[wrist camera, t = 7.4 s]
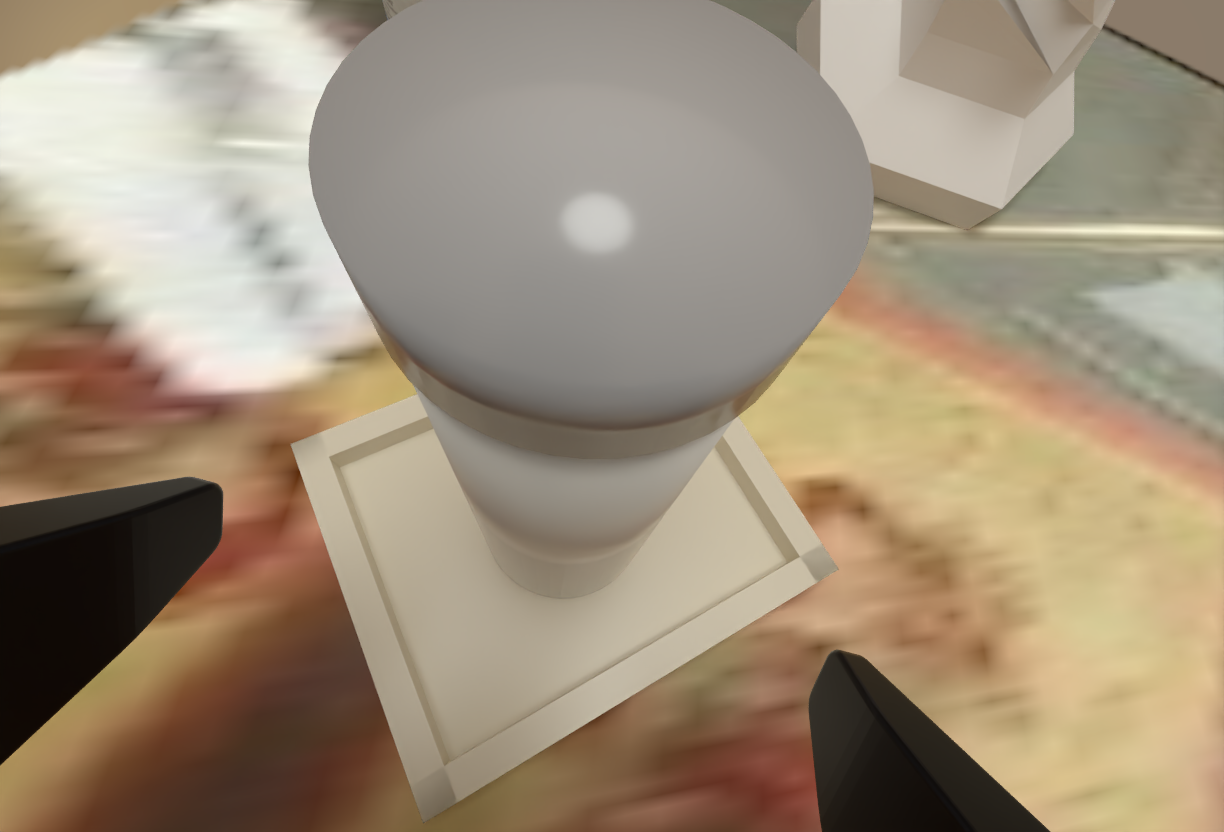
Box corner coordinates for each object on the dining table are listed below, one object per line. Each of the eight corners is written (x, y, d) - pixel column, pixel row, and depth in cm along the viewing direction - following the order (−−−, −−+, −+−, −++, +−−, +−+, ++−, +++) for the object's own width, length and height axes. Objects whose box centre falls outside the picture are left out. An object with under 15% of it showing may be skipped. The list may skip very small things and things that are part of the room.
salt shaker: (574, 640, 15) (661, 525, 4) (445, 526, 16) (174, 136, 4) (678, 507, 17) (960, 139, 5) (556, 410, 18) (572, -83, 6)
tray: (435, 809, 14) (422, 823, 13) (310, 462, 17) (290, 444, 16) (815, 577, 17) (838, 569, 16) (653, 323, 21) (660, 297, 19)
